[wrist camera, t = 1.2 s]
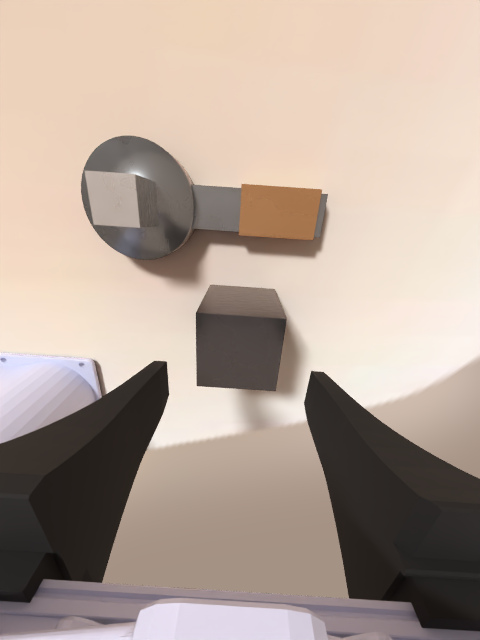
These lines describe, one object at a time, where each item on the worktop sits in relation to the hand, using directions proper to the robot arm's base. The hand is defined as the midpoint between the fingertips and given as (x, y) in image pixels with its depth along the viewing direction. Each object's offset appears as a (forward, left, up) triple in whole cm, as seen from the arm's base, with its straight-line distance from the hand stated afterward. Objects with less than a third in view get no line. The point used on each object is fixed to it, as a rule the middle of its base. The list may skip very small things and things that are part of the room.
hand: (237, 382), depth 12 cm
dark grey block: (0, 0, -9) cm, 9 cm away
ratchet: (-3, +8, -9) cm, 12 cm away
